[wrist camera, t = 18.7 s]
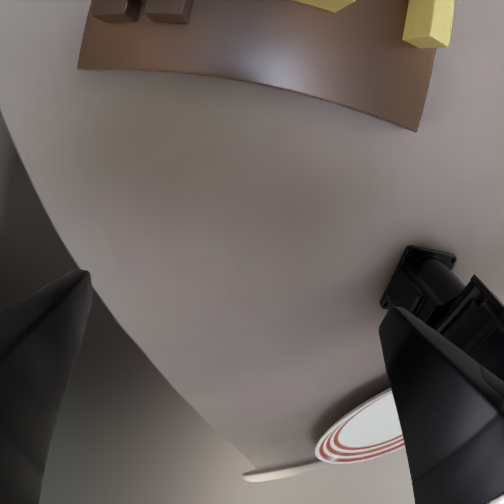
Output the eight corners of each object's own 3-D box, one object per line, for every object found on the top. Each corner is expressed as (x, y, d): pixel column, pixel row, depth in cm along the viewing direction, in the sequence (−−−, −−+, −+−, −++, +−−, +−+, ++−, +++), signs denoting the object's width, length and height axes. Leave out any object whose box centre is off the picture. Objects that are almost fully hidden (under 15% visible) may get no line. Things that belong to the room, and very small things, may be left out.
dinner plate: (478, 319, 30) (491, 336, 27) (460, 403, 43) (466, 415, 41) (284, 410, 35) (288, 432, 32) (333, 460, 48) (336, 474, 45)
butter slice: (428, -3, 12) (456, -10, 9) (419, 49, 14) (448, 47, 11) (410, -13, 12) (437, -22, 9) (401, 39, 14) (429, 35, 11)
